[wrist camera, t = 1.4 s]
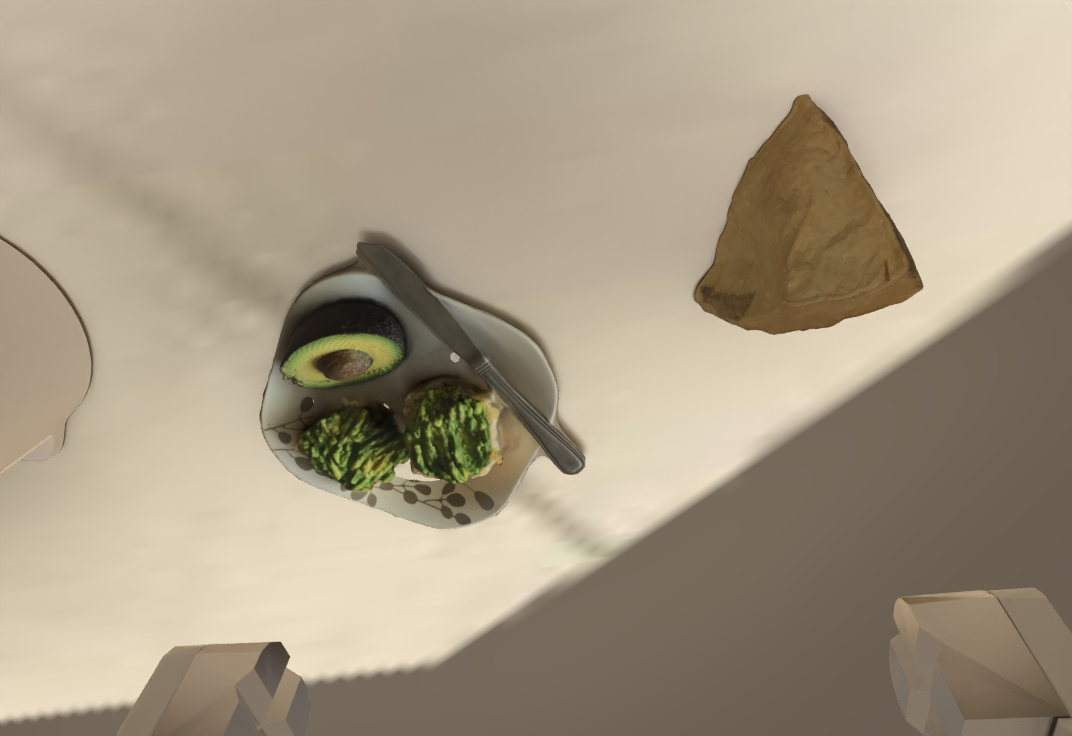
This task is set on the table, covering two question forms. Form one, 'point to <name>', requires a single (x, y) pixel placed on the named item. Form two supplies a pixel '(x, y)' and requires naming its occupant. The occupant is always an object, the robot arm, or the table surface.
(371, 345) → the plate of avocado toast
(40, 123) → the table surface
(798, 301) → the rock
